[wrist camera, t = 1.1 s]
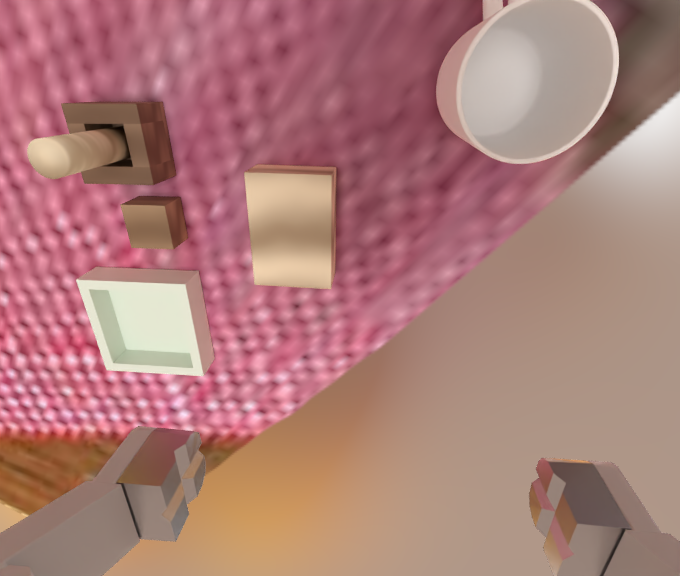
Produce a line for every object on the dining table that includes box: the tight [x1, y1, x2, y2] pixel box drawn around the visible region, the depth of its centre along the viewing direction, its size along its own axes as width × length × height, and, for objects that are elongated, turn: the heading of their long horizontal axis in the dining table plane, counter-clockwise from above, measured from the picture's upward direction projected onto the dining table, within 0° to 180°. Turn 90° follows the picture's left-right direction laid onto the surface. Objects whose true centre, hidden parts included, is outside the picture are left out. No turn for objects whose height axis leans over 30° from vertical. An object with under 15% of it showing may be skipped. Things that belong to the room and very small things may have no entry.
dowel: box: [27, 126, 131, 179], centre depth 30 cm, size 2×2×10 cm
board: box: [244, 164, 336, 289], centre depth 35 cm, size 10×7×4 cm
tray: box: [76, 267, 215, 376], centre depth 42 cm, size 11×11×3 cm
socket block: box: [61, 102, 176, 185], centre depth 33 cm, size 6×6×4 cm
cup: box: [436, 0, 619, 164], centre depth 25 cm, size 8×12×10 cm
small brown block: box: [121, 196, 188, 249], centre depth 36 cm, size 4×4×3 cm
